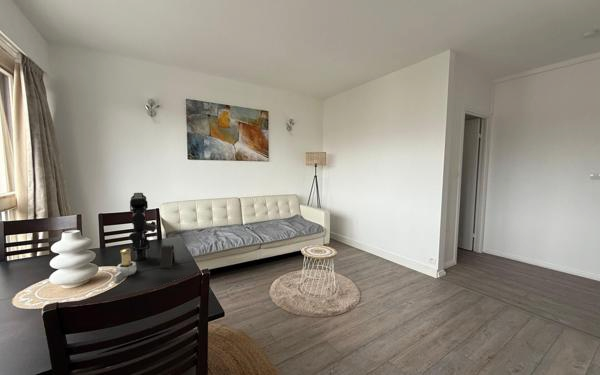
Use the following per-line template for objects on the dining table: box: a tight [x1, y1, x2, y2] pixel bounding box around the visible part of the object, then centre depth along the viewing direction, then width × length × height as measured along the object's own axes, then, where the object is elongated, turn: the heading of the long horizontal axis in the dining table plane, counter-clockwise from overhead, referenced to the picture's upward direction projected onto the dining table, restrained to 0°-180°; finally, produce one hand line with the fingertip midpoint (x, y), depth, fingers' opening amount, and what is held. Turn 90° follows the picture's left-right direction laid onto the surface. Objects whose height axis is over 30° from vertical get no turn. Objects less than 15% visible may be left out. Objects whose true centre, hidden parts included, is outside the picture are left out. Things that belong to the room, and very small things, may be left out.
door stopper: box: [159, 244, 177, 269], centre depth 148 cm, size 9×6×12 cm, turn 8°
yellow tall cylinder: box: [119, 248, 132, 267], centre depth 137 cm, size 5×5×13 cm
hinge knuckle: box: [113, 261, 137, 283], centre depth 137 cm, size 20×8×4 cm, turn 21°
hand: (140, 246), depth 143 cm, fingers open, 9 cm apart
